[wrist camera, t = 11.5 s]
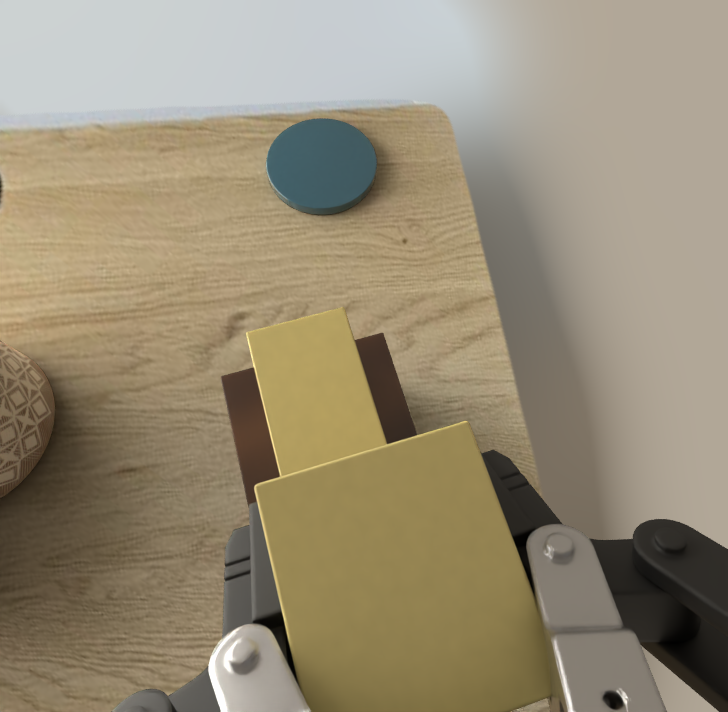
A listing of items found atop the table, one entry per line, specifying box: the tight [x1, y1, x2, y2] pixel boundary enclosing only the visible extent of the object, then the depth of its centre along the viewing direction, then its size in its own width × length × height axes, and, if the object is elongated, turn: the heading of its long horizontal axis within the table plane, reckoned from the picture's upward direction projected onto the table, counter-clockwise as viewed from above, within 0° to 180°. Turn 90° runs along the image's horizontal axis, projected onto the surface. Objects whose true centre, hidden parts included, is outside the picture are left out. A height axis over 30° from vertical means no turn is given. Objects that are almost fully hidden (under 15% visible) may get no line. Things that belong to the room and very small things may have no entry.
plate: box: [266, 118, 377, 215], centre depth 47 cm, size 10×10×1 cm
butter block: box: [246, 307, 387, 477], centre depth 26 cm, size 8×4×8 cm, turn 17°
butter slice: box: [254, 421, 551, 712], centre depth 13 cm, size 5×4×8 cm
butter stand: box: [221, 333, 417, 507], centre depth 33 cm, size 16×10×10 cm, turn 17°
